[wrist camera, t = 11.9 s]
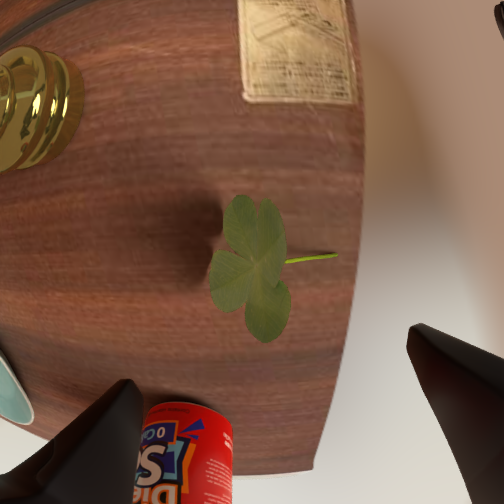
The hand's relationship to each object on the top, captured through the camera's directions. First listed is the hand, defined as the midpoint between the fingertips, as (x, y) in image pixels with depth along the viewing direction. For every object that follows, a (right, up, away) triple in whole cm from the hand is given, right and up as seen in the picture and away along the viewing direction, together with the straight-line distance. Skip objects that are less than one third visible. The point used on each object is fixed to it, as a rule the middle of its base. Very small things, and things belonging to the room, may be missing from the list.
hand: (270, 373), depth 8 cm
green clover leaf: (0, +3, +9) cm, 9 cm away
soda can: (-6, -12, +14) cm, 19 cm away
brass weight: (-14, +13, +5) cm, 19 cm away
